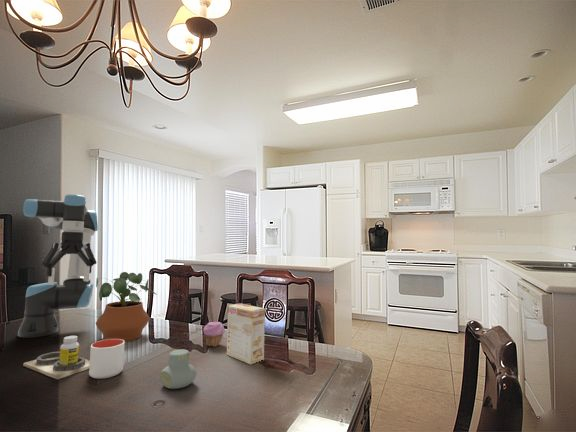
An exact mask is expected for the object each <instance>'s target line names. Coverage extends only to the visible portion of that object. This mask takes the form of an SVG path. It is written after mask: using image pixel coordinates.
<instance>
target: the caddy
mask: <svg viewBox="0 0 576 432" xmlns="http://www.w3.org/2000/svg"><path fill="white" fill-rule="evenodd" d="M59 358H60V351H51V352H47V353H43V354H40V355H39V356H37V357H36V359H33V360H30V361H26V362H23V365H22V366H23V367H24V368H25V367H26V368H27V369H30V370H32V371H35V372H37V373H40V374H42V375H45V376H47V377H50V378H53V379H54V380H60V379H62V378H66V377H69V376H72V375H74V374H77V373H81V372H83V371H86V370H89V365H90V359H86V358H85V357H83V356H78V363H76V364H72V365H59Z"/></svg>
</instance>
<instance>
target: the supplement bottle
mask: <svg viewBox="0 0 576 432" xmlns="http://www.w3.org/2000/svg"><path fill="white" fill-rule="evenodd" d="M59 350H60V351H59V352H60V358H59V365H72V364H76V363H78V357H79V350H80V343H79V342H78V336H77V335H69V336H65V337H63V343H62V344H61V345H60V348H59Z"/></svg>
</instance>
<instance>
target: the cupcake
mask: <svg viewBox="0 0 576 432" xmlns="http://www.w3.org/2000/svg"><path fill="white" fill-rule="evenodd" d="M203 327H204V328H203V334H204V335H205V343H206V345H207V346H208V347H213V348H217V347H218V346H219V345H220V343H221V342H222V339H223V335H224V333H225V327H224V325H223V323H222V322H220V321H210V322H207V324H206V325H205V326H203ZM217 345H218V346H217Z"/></svg>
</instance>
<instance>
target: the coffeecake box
mask: <svg viewBox="0 0 576 432" xmlns="http://www.w3.org/2000/svg"><path fill="white" fill-rule="evenodd" d="M265 317H266V308H264V307H259V306H254V305H250V304H247V303H246V304H245V303H242V302H241V303H234V304H228V305H227V327H226V328H227V330H226V331H227V333H226V334H227V335H226V355H227V356H230V357H231V358H233V359H236V360H238V361H241V362H243V363H246V364H248V365H253V364H256V362H257V363H259V361H260V362H262V361H261V360H263V361H264V360H265V324H266V323H265V322H266V320H265V319H266V318H265Z"/></svg>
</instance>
